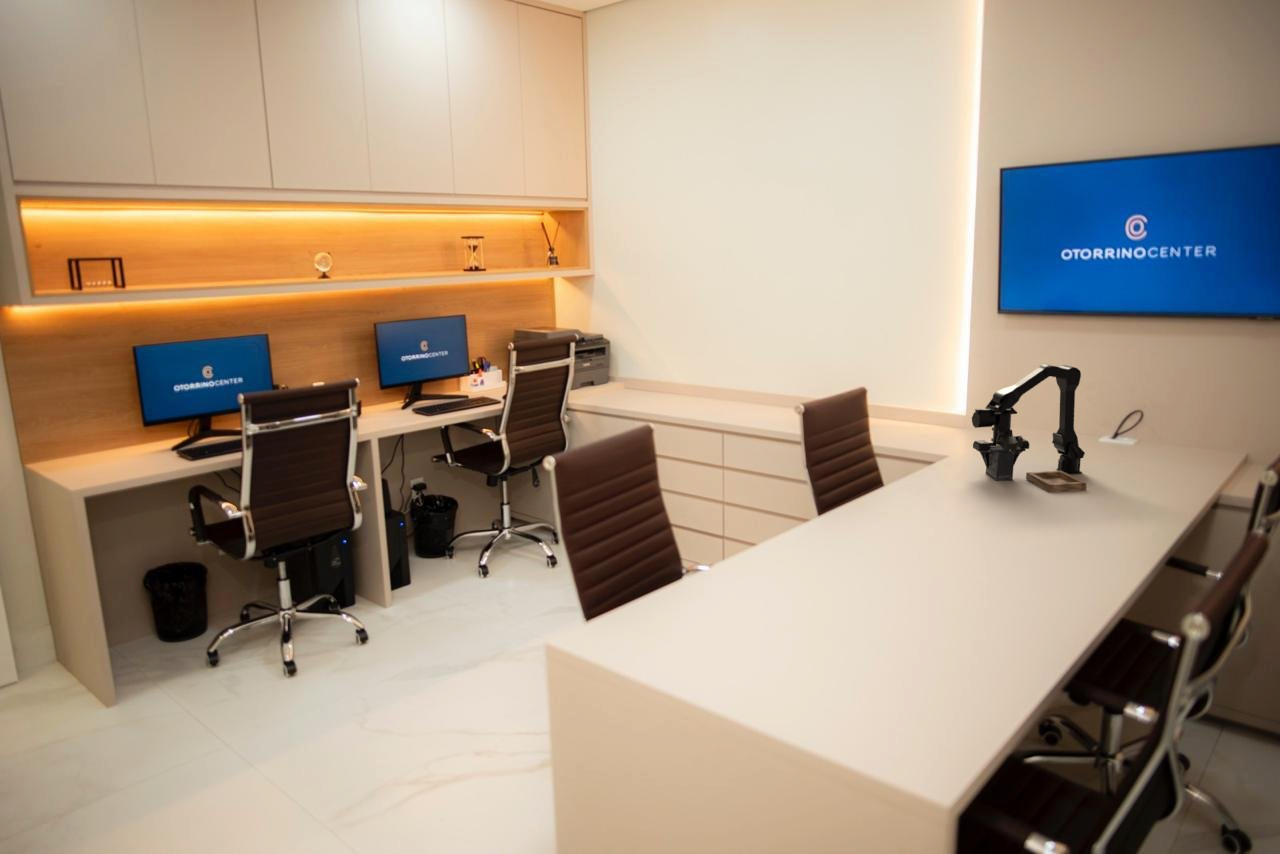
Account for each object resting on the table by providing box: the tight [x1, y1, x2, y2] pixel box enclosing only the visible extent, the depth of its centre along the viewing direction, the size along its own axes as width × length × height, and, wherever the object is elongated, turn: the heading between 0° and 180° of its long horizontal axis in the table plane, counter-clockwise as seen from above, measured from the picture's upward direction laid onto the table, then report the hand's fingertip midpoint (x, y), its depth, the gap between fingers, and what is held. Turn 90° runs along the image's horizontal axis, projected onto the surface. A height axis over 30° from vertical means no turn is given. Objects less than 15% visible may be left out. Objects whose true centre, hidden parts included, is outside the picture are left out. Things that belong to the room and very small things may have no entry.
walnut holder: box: [1025, 470, 1087, 493], centre depth 301 cm, size 13×16×3 cm
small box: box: [985, 447, 1015, 482], centre depth 312 cm, size 11×6×10 cm, turn 179°
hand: (999, 467), depth 313 cm, fingers open, 9 cm apart
